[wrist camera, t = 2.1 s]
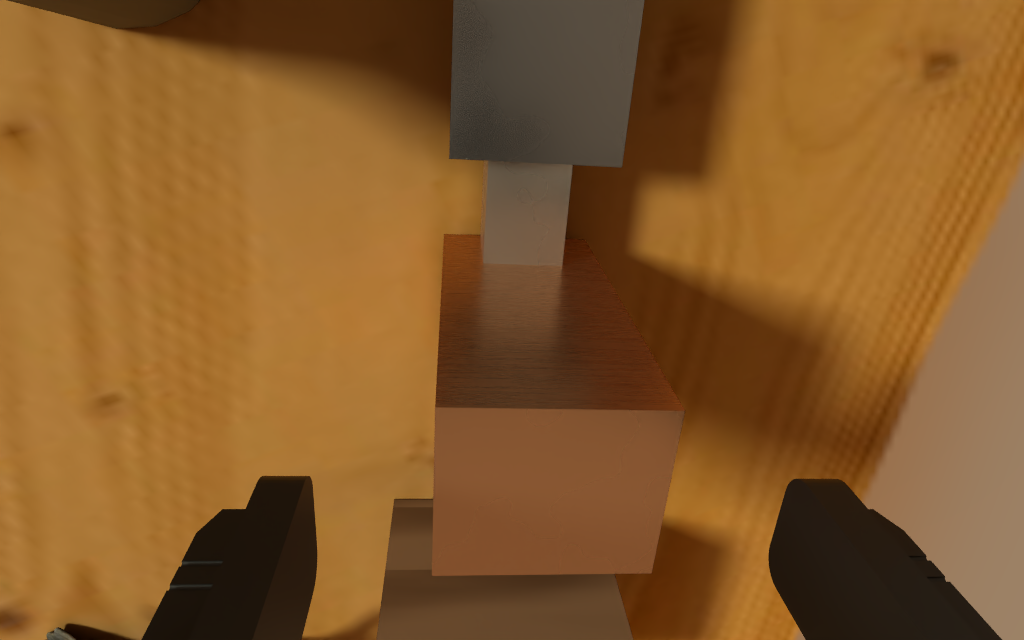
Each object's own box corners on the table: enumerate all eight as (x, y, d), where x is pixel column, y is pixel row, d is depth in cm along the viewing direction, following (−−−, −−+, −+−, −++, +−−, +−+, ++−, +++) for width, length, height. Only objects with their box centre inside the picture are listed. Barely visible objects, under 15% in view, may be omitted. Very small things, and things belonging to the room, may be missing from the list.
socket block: (394, 499, 23) (375, 651, 17) (593, 499, 23) (635, 645, 18) (395, 614, 25) (378, 780, 19) (576, 611, 26) (609, 770, 20)
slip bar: (455, -226, 14) (454, -560, 6) (636, -205, 14) (870, -494, 6) (438, 461, 22) (428, 731, 13) (558, 461, 22) (620, 724, 14)
